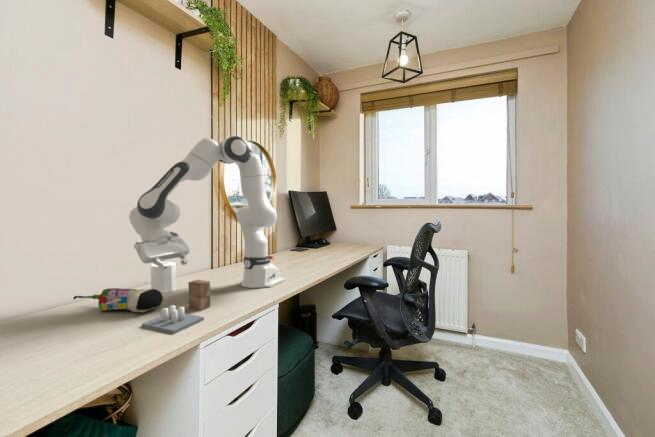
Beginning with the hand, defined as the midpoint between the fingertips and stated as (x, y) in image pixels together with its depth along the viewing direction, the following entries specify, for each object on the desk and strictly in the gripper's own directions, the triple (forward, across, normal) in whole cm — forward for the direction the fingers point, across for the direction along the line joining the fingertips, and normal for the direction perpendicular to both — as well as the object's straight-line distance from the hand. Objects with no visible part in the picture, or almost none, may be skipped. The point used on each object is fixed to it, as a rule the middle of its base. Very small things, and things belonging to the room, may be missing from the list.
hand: (175, 266), depth 117 cm
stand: (+22, -15, 0) cm, 26 cm away
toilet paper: (-4, +12, +25) cm, 28 cm away
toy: (+1, -12, +20) cm, 24 cm away
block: (+19, 0, +2) cm, 19 cm away
